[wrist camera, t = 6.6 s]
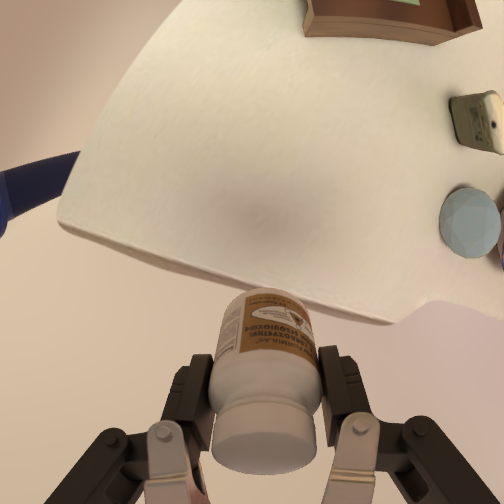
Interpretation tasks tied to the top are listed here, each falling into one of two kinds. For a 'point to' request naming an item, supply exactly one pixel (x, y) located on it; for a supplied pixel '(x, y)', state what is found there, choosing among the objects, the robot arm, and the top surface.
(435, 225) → the top surface
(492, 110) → the beige rounded block
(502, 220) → the bowl
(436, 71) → the top surface
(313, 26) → the shelf
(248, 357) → the pill bottle
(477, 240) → the gemstone
